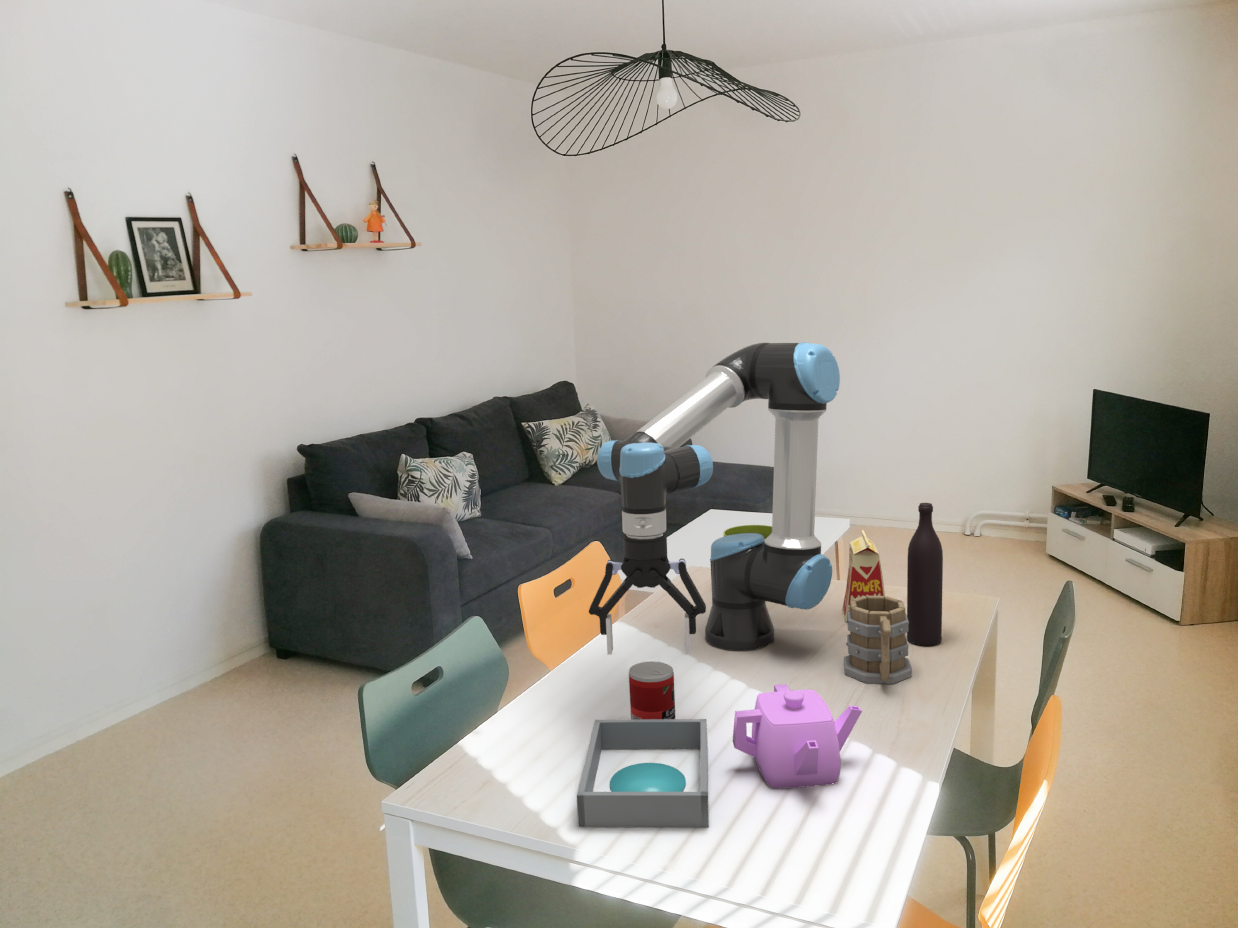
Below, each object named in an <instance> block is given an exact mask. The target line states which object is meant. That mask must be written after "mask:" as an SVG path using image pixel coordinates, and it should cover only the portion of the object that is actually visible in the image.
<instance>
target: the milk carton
mask: <svg viewBox="0 0 1238 928" xmlns="http://www.w3.org/2000/svg"><path fill="white" fill-rule="evenodd" d="M861 533H862V535H861V536H858V537H857V538H855V539H853V540H851V541H850V542H849V547H848V548H849V551H848V552H849V553H848V569H847V570H848V571H847V577H846V578H847V579H846V586H845V593H844V597H843V598H844V599H843V602H842V608H841V612H842V615H844V616H843V618H844V622H846V620H847V612H848V611H850V601H851V600H853V599H856V598H859V597H862V596H865V597H866V596H885V597H886V591H885V585H884V576H883V571H882V564H881V558H880V553H879V551H878V549H877V546H876V545H875V543H874V542H873V541H872V540H871V539H869V538H868V537H867V535H866V533H865V529H861ZM846 623H847V622H846Z"/></svg>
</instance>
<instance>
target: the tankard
mask: <svg viewBox="0 0 1238 928" xmlns="http://www.w3.org/2000/svg"><path fill="white" fill-rule="evenodd" d="M905 606H906V605H905V604H904V601H902V600H900V599H897V598H895V597H894V598H893V597H891V596H890V597H889V596H887V595H885V596H866V597H865V596H862V597H859V598H856V599H853V600H851V601H850V611H848V612H847V620H846V624H847V630H848V631H849V634H847V635H846V637H847V641H846V643H845V644H846V646H847V652H848V655H846V656H844V657H843V666H844V675H846V676H848V677H850V678H853V679H856V680H858V681H860V682H862V683H864V684H876V685H878V684H883V685H885V684H886V685H895V684H897V683H899V682H901V681H904V680H906V679H908V678H911V677H912V675H913V674H912V673H913V672H912V669H913V668H912V666H911V662H910V659H909V658H908V656H909V643H908V639H907V635H906V634H907V632H908V624H909V621H908V618H907V612H906V607H905Z"/></svg>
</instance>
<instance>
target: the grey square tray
mask: <svg viewBox="0 0 1238 928" xmlns="http://www.w3.org/2000/svg"><path fill="white" fill-rule="evenodd" d="M707 726H708V724H707V718H680V719H679V718H675V719H632V720H631V719H594V723H593V726H592V730H591V735H590V738H589V743H588V746H587V750H586V755H585V760H584V764H583V768H582V771H581V776H580V780H579V784H578V788H577V792H576V804H577V821H578V823H577V824H578V827H587V828H588V827H592V828H593V827H595V828H597V827H599V828H600V827H601V828H602V827H606V828H607V827H609V828H610V827H611V828H612V827H613V828H616V827H619V828H620V827H625V828H626V827H629V828H630V827H631V828H639V827H640V828H644V827H645V828H647V827H648V828H677V827H678V828H709V825H710V824H709V823H710V820H709V818H710V817H709V816H710V815H709V765H708V762H709V759H708V757H709V756H708V727H707ZM602 750H603V751H605V750H607V751H609V750H611V751H612V750H613V751H615V750H617V751H619V750H624V751H625V750H628V751H629V750H700V791H684V790H685V788H686V784H687V783H686V781H687V780H686V777H685V775H684V774H683V772H682V771H680V770H679V769H677V768H676V767H675V766H671V765H669V764H664V763H658V762H642V763H641V762H640V763H635V764H630V765H628V766H624V767H623V768H621V769H619V770H617V771H616V772H615V773H614V774H613V775H612V777H611V778H610V781H609V788H610V791H594V787H595V784H596V783H595V782H596V778H597V774H598V770H599V769H598V768H599V763H600V760H601V755H602Z"/></svg>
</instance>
